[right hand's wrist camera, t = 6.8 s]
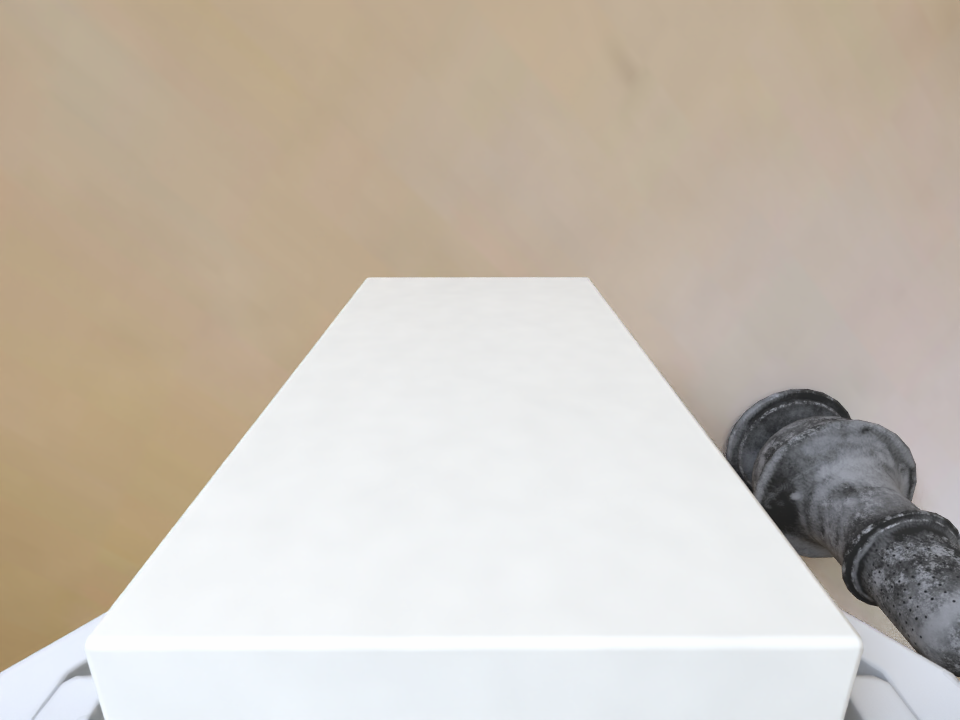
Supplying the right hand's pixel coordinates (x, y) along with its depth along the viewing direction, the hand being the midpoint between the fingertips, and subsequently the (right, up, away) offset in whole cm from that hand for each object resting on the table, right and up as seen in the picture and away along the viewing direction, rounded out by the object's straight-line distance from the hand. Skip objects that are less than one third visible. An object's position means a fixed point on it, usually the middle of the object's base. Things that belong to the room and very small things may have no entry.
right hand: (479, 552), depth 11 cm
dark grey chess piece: (+13, 0, +15) cm, 20 cm away
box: (0, -6, +10) cm, 12 cm away
